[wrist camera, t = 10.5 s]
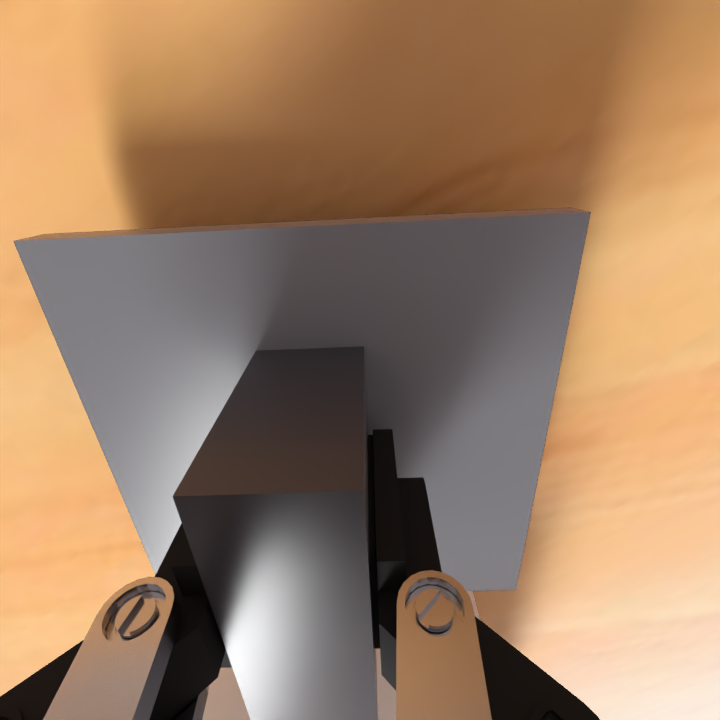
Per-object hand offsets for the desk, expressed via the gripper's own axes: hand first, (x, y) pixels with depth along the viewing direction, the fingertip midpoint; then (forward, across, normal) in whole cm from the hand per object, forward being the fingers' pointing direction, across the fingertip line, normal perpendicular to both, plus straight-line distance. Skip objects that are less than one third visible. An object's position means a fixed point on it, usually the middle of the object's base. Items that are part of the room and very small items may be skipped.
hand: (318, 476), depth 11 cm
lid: (+2, 0, 0) cm, 2 cm away
